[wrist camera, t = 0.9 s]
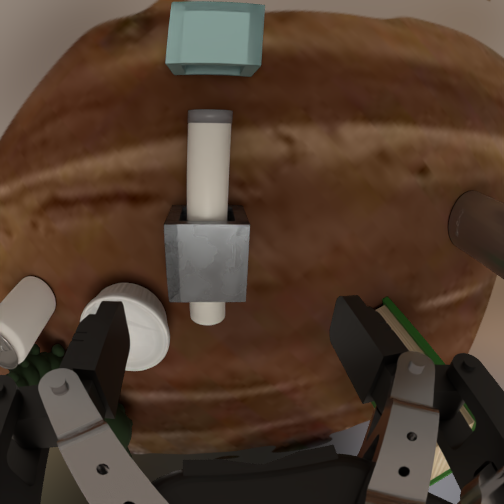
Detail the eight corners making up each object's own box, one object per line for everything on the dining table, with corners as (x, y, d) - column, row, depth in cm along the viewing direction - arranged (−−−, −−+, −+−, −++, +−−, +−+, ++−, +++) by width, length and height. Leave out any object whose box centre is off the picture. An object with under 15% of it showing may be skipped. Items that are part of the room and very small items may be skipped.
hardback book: (342, 319, 42) (424, 458, 20) (387, 296, 41) (485, 417, 20) (362, 385, 49) (416, 493, 27) (397, 366, 49) (460, 466, 27)
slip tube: (231, 111, 28) (234, 110, 24) (224, 304, 37) (226, 325, 33) (189, 111, 28) (186, 109, 24) (190, 305, 36) (189, 325, 33)
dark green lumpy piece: (29, 333, 38) (122, 431, 46) (-29, 410, 20) (103, 514, 29) (62, 312, 37) (160, 421, 46) (-2, 400, 20) (147, 513, 28)
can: (12, 284, 33) (-31, 334, 22) (39, 267, 33) (-7, 320, 22) (37, 320, 36) (3, 376, 25) (65, 306, 35) (30, 366, 24)
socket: (254, 25, 25) (264, 5, 19) (251, 76, 28) (261, 65, 22) (178, 23, 24) (171, 2, 18) (174, 74, 27) (165, 63, 21)
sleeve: (242, 205, 33) (250, 224, 27) (239, 271, 36) (245, 301, 31) (172, 205, 32) (163, 224, 26) (174, 271, 35) (169, 302, 29)
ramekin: (154, 263, 35) (146, 286, 30) (185, 336, 39) (183, 363, 35) (77, 285, 35) (62, 308, 30) (114, 350, 39) (106, 376, 34)
